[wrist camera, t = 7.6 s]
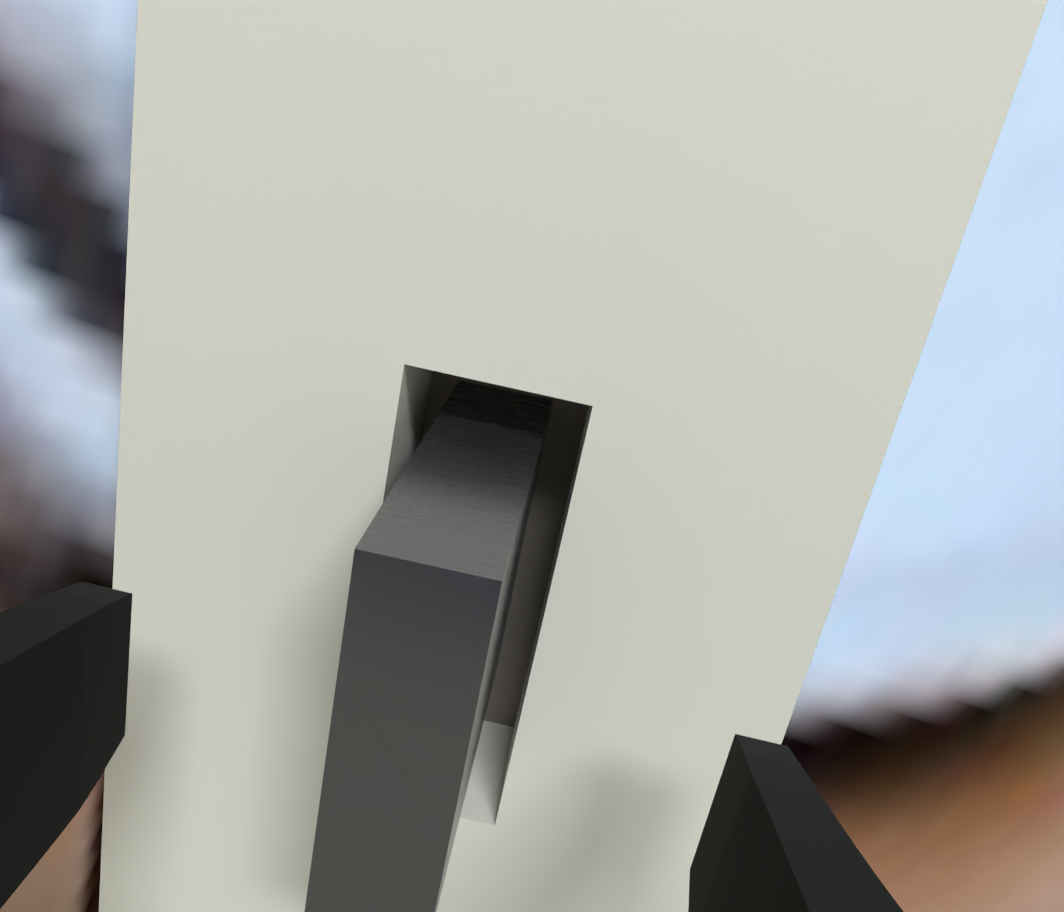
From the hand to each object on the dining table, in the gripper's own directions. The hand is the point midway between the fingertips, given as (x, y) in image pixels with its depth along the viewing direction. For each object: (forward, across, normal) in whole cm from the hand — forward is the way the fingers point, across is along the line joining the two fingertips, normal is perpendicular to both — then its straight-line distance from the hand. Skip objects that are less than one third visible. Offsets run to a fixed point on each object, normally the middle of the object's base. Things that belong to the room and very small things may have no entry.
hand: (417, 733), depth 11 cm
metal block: (+5, 0, 0) cm, 5 cm away
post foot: (+6, 0, 0) cm, 6 cm away
